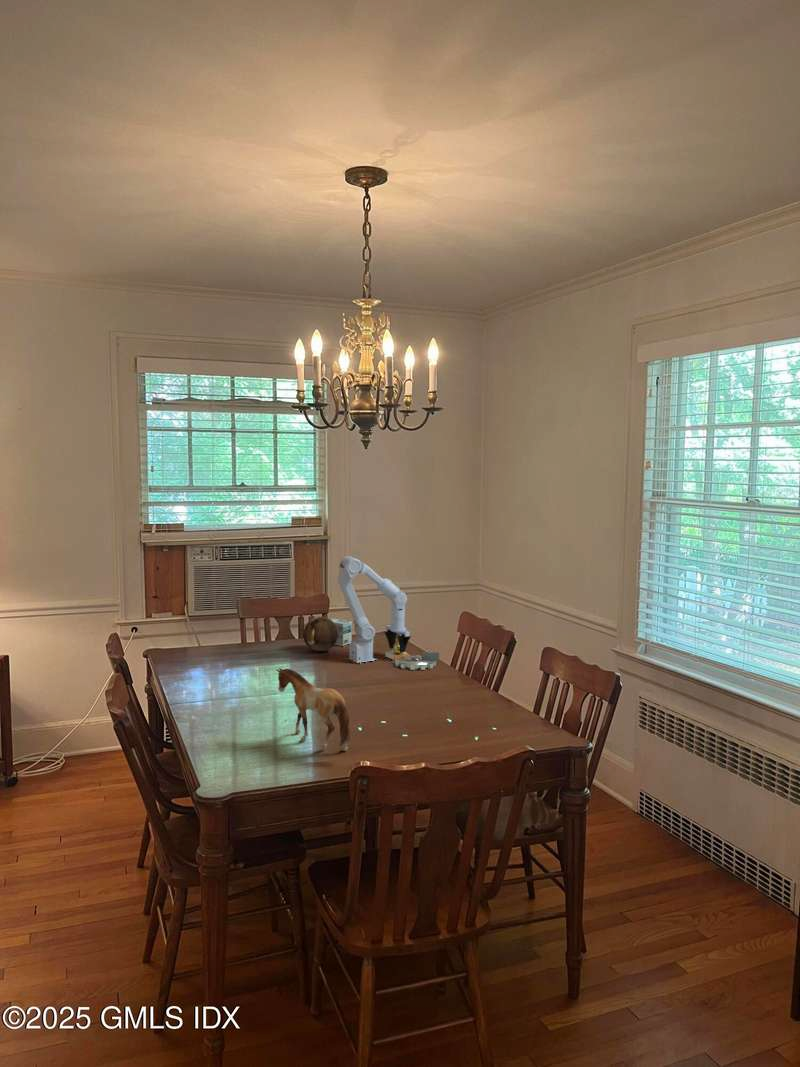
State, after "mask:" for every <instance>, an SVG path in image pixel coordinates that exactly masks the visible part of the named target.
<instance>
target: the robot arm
mask: <svg viewBox="0 0 800 1067" xmlns="http://www.w3.org/2000/svg"><path fill="white" fill-rule="evenodd" d="M338 567H339V568H338V569H339V571H338V577H337V582H338V586H339V588H340V590H341V593H342V594H343V598H344V599H345V602H346V604H347V606H348V609H349V612H350V614H351V616H352V619H353V624H354V633H355V634H356V637H355V639H354V640H352V642H351V643H350V645H349V653H348V655H349V657H348V659H350V660H353V661H355V662H357V663H359V662H360V664H362V663H361V662H366V663H368V662H367V661H373V662H375V661H374V660H377V661H378V659H377V658H374V637H375V635H376V630H375V628H374V627H373V626H372V625H371V623H370V622H369V620H368V618H367V617H366V614H365V612H364V610H363V607H362V605H361V602H360V600H359V597H358V595H357V593H356V591H355V588H354V585H353V581H354V578H355V577H356V576H357V575H358V574H360V575H364V576H365V577H367V578H368V579H369V580H371V581H373V583H375V584H376V587H377V590H378V591H380V592H381V593H382V594H384V596H386V597H387V598H389V600H390V602H391V608H390V612H391V613H390V625H385V630H386V631H384V634H385V636H386V639H387V642H388V646H389V649H394V644H395V643H396V639H397V641H398V643H399V649H400V652H406V649H407V645H408V642H410V641H409V640H410V639H411V635H410V631H408V630H407V627H405V620H406V619H405V618H406V616H405V615H406V603H407V601H408V597H407V594H406V593H405V592H404V591H402V590H400V587H399V586H396V585H395V584H394V583H393V581H392V580H391V579H390V578H384V577H383V578H382V577H381V576H380V575H379V574H377V573H376V572H375V571H374V569H372V568H371V566H369V565H367V564H366V563H364V562H362V561H361V560H360V559H358V558H355V557H354V556H352V555H346V556H344V557H343V558H342V559H341V560H340V563H339V566H338ZM350 660H349V661H350ZM353 661H352V662H353ZM355 662H354V663H355ZM357 663H356V664H357Z"/></svg>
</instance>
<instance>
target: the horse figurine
mask: <svg viewBox="0 0 800 1067" xmlns="http://www.w3.org/2000/svg"><path fill="white" fill-rule="evenodd" d="M275 670H276V671H277V672H278V677H277V678H278V687H277V689H278V691H279V692H280V693H283V692H284V691H285V689H286V687H287V686H288V685H289V684H291V686H292V688H293V691H294V692H295V694H294V698H293V700H294V704H295V705H296V707H297V709H298V712H299V713H298V714H297V719H296V723H295V735H296V734H299V733H300V732H301V728H300V722H301V719H302V725H303V729H304V732H303V736H301V738H300V739H299V742H300V743H305V742H306V741H307V737H308V736H309V734H308V733H309V732H308V717H307V715H308V714H307V711H308V710H309V711H313V712H317V713H318V715H319V716H320V717H321V719H322V721H323V723H324V724H325V725H326V726H327V732H326V735H325V736H324V737H323V739H322V744H321V750H323V751H324V750H325V749H326V748H327V747H328V746H327V742H328V741H329V738H330V736H331V734H332V733H333V732H334V730H335V728H336V727H335V725H334V723H332V720H331V719H330V718H331V716H333V715H335V716H337V718H338V722H339V734H340V742H339V743H340V744H339V747H341V748H340V751H341V752H342V751H343V752H344V751H345V752H346V751H347V750H348V745H349V741H350V737H351V730H350V728H351V726H350V716H349V711H348V709H347V707H346V700H345V699H344V696H343V695H342V694H341V693H340V692H338V691H337V690H336V689H334V688H330V687H329V688H326V687H325V688H319V687H316V686H314V685H313V684H311V683H310V682H309V681H308V680H307V679H306V678H305V677H303V675H302V674H300V673H299V672H297V671H295V670H293V669H290V668H285V669H284V668H283V669H282V668H281V667H280V668H278V669H277V668H276V669H275Z"/></svg>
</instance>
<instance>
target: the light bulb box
mask: <svg viewBox="0 0 800 1067" xmlns="http://www.w3.org/2000/svg"><path fill="white" fill-rule="evenodd" d="M330 620H332V621H333V622H334V624H335V625H336V627H337V630H338V638H337V641H336V643H335V644H336V645H342V646H344V645H347V644H350V643H351V642H352V641H353V638H352V637H353V636H352V634H353V633H352V630H353V629H352V626H353V625H352V624H353V623H352V620H343V619H338V618H337V619H336V618H331V619H330ZM344 647H345V646H344Z"/></svg>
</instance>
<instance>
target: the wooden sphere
mask: <svg viewBox="0 0 800 1067" xmlns="http://www.w3.org/2000/svg"><path fill="white" fill-rule="evenodd" d="M302 633H303V634H302V636H303V641H304V643H305V644H306V646H307V647H308V648H310V650H313V651H315V652H319V651H322V652H326V651H328V650H331V649H332V648H333V647H334V646H335V645H334V644H335V643H336V641H337V638H338V630H337V627H336V625H335V624H334V622H333V621H332V620H331V619H330V618H328V617H327V616H326V617H325V616H317V617H313V618H311V619H310V620H309V621H308V622H307V623H306V624H305V625H304V628H303V632H302Z"/></svg>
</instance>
